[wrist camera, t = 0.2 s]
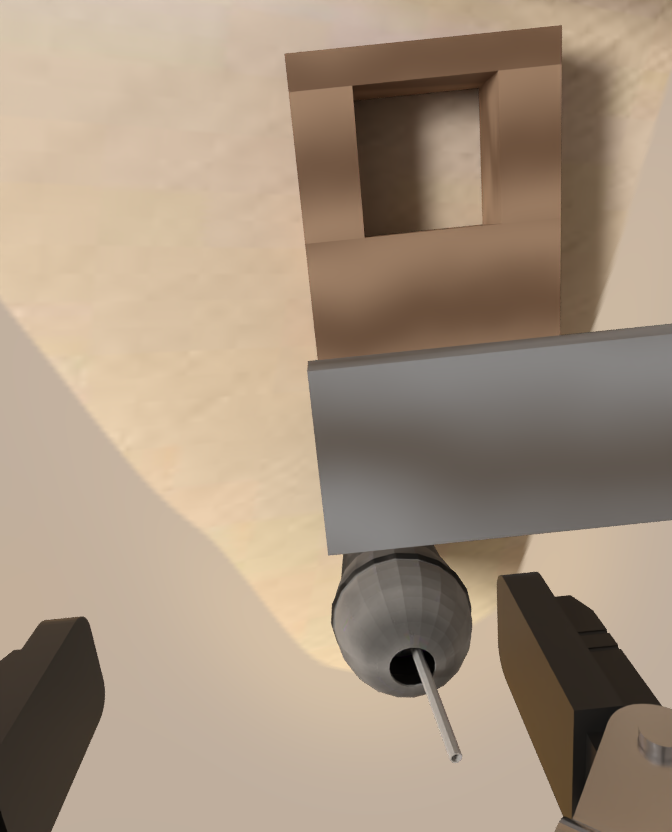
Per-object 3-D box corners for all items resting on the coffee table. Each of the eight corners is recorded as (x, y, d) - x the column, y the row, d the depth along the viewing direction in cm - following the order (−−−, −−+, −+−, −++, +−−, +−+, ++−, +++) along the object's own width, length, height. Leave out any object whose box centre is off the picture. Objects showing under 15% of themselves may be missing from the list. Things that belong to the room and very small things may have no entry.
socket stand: (287, 73, 35) (247, -153, 14) (535, 47, 35) (846, -214, 14) (322, 389, 40) (328, 555, 20) (536, 367, 40) (766, 510, 20)
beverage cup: (360, 450, 42) (397, 637, 22) (451, 498, 43) (561, 714, 24) (308, 536, 43) (301, 778, 24) (397, 580, 45) (458, 844, 25)
